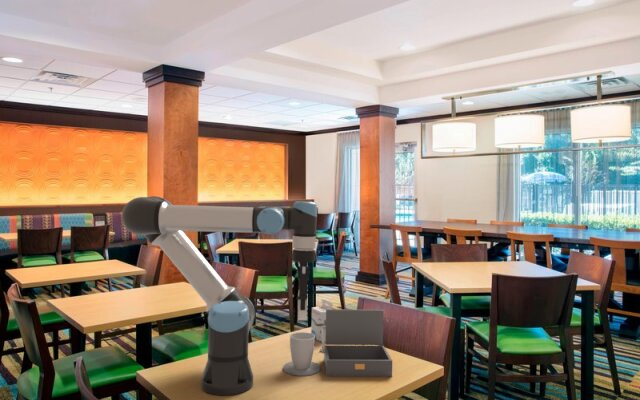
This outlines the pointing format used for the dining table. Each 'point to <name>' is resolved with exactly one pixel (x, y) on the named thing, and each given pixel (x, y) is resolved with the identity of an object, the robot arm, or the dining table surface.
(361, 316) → the case
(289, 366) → the slate coaster
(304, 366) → the cup
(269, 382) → the dining table surface
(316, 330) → the ink box
